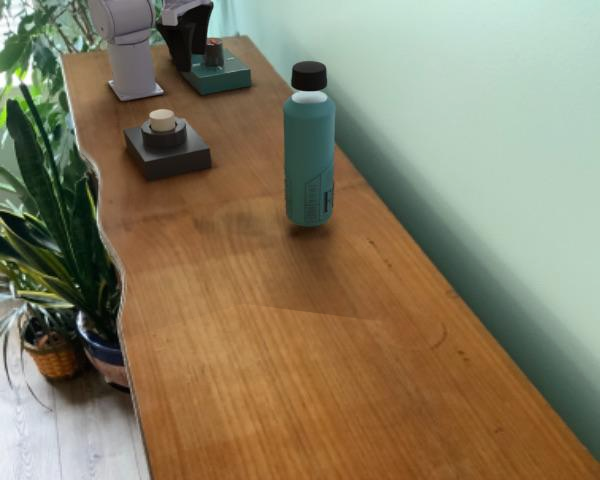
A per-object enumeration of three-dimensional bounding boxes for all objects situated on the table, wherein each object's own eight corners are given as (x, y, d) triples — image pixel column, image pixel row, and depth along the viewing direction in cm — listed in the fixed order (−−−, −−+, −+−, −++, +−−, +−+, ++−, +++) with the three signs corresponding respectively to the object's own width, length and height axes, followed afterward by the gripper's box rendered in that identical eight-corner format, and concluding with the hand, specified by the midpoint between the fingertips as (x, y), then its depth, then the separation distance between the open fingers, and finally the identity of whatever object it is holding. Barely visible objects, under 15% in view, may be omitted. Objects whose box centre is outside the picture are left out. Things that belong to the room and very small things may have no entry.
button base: (126, 148, 100) (120, 116, 96) (186, 135, 103) (182, 104, 99) (148, 181, 92) (142, 148, 89) (212, 167, 95) (208, 134, 92)
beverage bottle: (328, 240, 82) (334, 77, 67) (279, 234, 83) (274, 73, 68) (336, 214, 86) (344, 56, 71) (289, 209, 87) (287, 52, 72)
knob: (199, 60, 118) (197, 37, 115) (219, 57, 119) (217, 34, 116) (207, 67, 115) (204, 44, 113) (227, 63, 117) (225, 40, 114)
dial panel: (180, 73, 122) (177, 55, 119) (228, 64, 125) (226, 47, 122) (201, 94, 114) (199, 76, 112) (251, 85, 117) (250, 67, 115)
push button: (148, 125, 95) (146, 111, 93) (171, 121, 96) (169, 107, 94) (155, 134, 93) (153, 121, 91) (178, 130, 94) (176, 116, 92)
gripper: (190, -26, 84) (201, 81, 94) (220, -51, 94) (228, 48, 104) (140, -28, 85) (157, 77, 95) (175, -53, 95) (187, 45, 105)
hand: (191, 62), depth 99 cm, fingers open, 7 cm apart
